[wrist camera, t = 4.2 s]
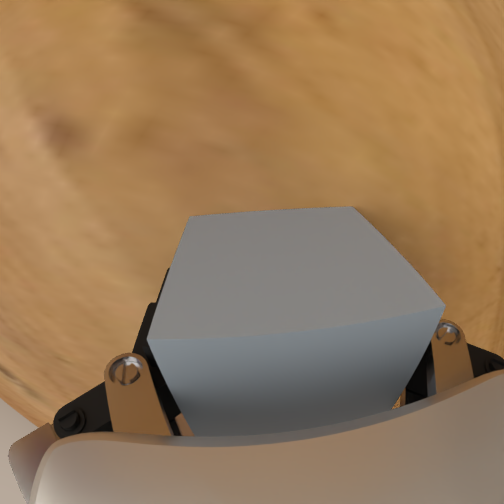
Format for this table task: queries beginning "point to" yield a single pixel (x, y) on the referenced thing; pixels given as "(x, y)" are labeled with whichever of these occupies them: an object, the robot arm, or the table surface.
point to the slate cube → (288, 321)
